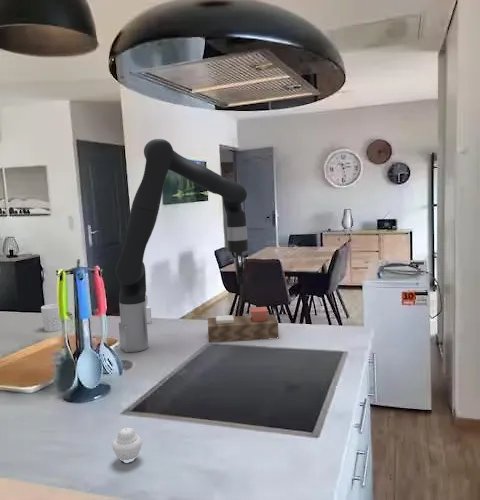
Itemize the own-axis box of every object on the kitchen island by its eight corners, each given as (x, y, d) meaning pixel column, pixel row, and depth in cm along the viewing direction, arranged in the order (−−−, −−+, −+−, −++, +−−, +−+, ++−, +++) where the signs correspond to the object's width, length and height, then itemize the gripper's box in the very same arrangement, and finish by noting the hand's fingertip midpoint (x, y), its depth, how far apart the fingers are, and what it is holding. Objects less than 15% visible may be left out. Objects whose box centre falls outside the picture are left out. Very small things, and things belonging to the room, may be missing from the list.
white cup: (47, 333, 194) (45, 309, 192) (40, 329, 199) (38, 306, 198) (66, 329, 199) (64, 305, 198) (58, 325, 205) (56, 302, 203)
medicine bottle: (131, 321, 207) (129, 294, 205) (147, 319, 210) (146, 292, 208) (135, 325, 201) (133, 298, 199) (151, 323, 203) (150, 295, 202)
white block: (216, 335, 179) (216, 320, 178) (216, 330, 185) (215, 316, 184) (234, 334, 179) (233, 319, 178) (233, 329, 186) (232, 315, 185)
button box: (208, 342, 176) (207, 326, 175) (208, 332, 188) (207, 317, 187) (278, 338, 178) (278, 322, 177) (273, 329, 190) (273, 314, 189)
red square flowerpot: (251, 326, 179) (250, 311, 178) (249, 322, 186) (249, 307, 185) (268, 326, 180) (268, 311, 179) (266, 321, 186) (265, 306, 185)
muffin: (145, 450, 104) (143, 420, 103) (140, 467, 98) (138, 435, 97) (116, 452, 104) (114, 422, 103) (110, 468, 98) (107, 436, 97)
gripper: (249, 239, 171) (252, 286, 174) (245, 236, 185) (248, 280, 187) (228, 241, 171) (231, 288, 173) (226, 237, 184) (229, 281, 186)
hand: (240, 284), depth 180 cm, fingers closed
